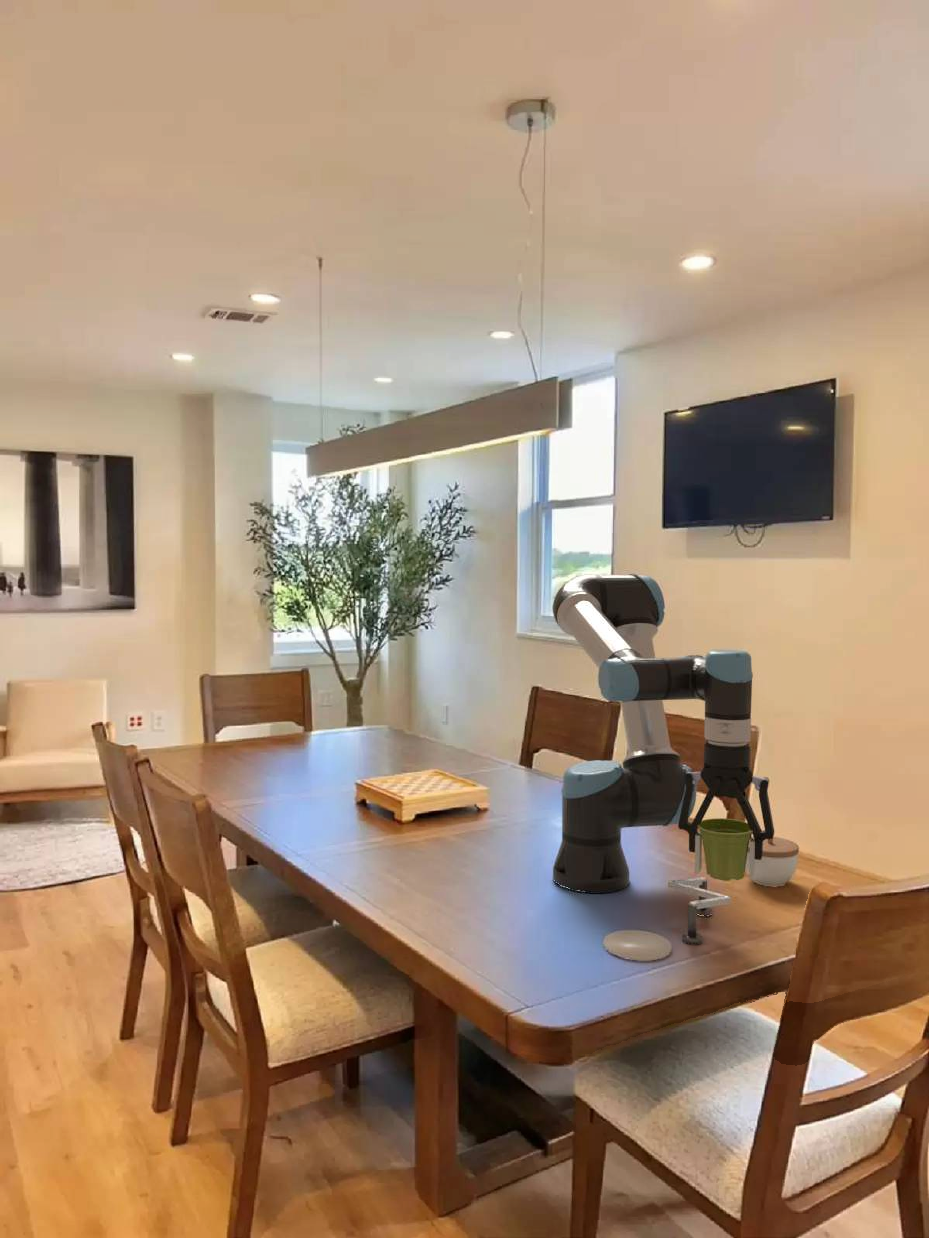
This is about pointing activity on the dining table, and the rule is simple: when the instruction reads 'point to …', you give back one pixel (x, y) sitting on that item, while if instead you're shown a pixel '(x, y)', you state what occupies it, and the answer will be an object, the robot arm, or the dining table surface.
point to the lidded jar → (775, 862)
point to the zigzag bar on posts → (697, 904)
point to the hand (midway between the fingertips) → (724, 873)
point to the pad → (637, 945)
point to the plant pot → (725, 847)
